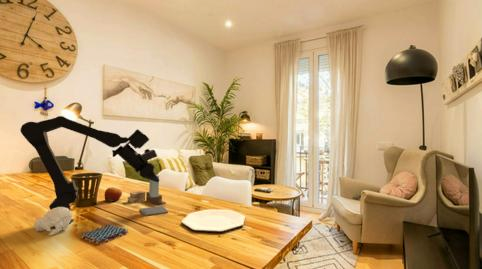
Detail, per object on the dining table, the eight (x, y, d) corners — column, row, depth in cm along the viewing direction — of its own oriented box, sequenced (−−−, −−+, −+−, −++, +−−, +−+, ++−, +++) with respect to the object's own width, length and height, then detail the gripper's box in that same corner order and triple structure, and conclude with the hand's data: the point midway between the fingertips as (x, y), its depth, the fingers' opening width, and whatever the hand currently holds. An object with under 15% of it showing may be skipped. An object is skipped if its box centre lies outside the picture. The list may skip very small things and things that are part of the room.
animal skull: (56, 209, 76) (26, 211, 78) (57, 236, 76) (27, 236, 78) (73, 204, 82) (44, 205, 84) (74, 228, 82) (46, 229, 84)
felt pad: (143, 216, 97) (143, 215, 97) (140, 210, 105) (140, 208, 105) (167, 212, 102) (168, 211, 102) (163, 207, 110) (163, 205, 110)
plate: (246, 214, 103) (246, 210, 103) (241, 236, 79) (241, 231, 79) (193, 211, 105) (194, 208, 105) (173, 232, 81) (173, 228, 81)
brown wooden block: (158, 205, 113) (159, 196, 113) (146, 200, 121) (146, 192, 121) (165, 203, 116) (165, 194, 116) (153, 199, 124) (153, 191, 124)
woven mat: (99, 247, 70) (100, 240, 70) (79, 239, 75) (79, 233, 75) (130, 234, 80) (130, 228, 80) (110, 229, 84) (110, 223, 85)
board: (151, 197, 101) (151, 176, 101) (149, 194, 106) (149, 174, 106) (158, 196, 103) (159, 176, 103) (156, 194, 107) (156, 174, 107)
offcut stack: (131, 203, 116) (131, 194, 116) (127, 201, 119) (127, 193, 119) (145, 200, 121) (145, 192, 121) (140, 199, 124) (141, 190, 124)
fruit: (96, 200, 116) (104, 184, 120) (108, 204, 122) (114, 189, 126) (109, 201, 114) (116, 185, 118) (120, 206, 120) (126, 191, 124)
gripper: (149, 143, 95) (176, 169, 100) (142, 142, 111) (165, 165, 116) (127, 164, 90) (156, 189, 96) (123, 160, 106) (148, 182, 112)
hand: (157, 180), depth 105 cm, fingers closed on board, 5 cm apart
